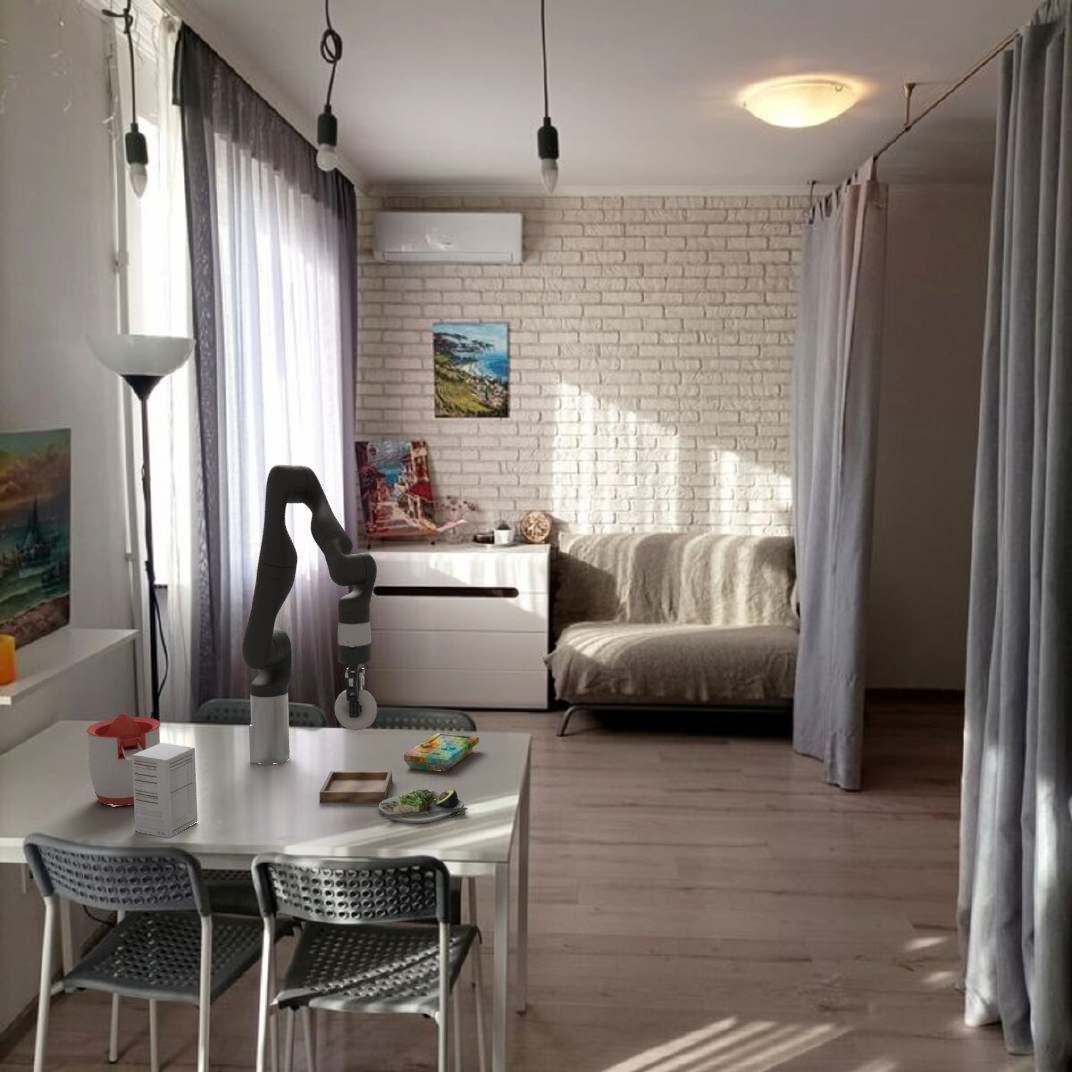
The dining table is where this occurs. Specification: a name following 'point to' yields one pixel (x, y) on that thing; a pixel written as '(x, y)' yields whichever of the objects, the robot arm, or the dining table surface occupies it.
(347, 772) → the display tray
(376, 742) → the dining table surface
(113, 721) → the citrus juicer
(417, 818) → the salad plate
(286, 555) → the robot arm
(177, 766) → the supplement box
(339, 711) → the white ring
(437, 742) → the puzzle game
